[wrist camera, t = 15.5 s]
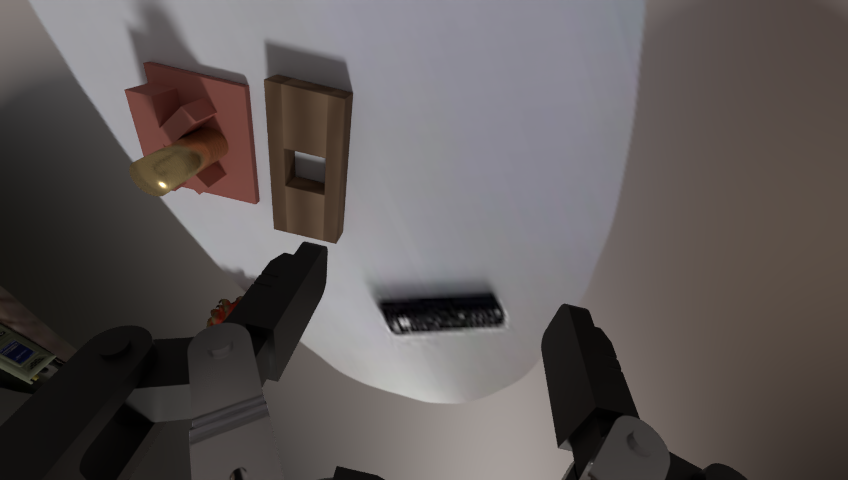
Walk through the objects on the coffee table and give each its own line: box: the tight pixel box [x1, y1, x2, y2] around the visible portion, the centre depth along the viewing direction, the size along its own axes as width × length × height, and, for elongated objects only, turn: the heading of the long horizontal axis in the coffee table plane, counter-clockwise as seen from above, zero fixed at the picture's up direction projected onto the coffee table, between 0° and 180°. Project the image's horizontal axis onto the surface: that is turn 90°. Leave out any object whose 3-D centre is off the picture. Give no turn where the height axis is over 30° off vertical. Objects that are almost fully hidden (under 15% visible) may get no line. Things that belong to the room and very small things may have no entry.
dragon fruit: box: [206, 296, 243, 328], centre depth 62 cm, size 8×8×12 cm
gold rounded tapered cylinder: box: [130, 127, 229, 196], centre depth 41 cm, size 4×4×11 cm
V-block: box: [125, 62, 259, 204], centre depth 45 cm, size 12×16×5 cm
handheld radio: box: [0, 324, 63, 384], centre depth 80 cm, size 7×3×25 cm
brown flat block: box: [264, 75, 353, 244], centre depth 46 cm, size 9×20×3 cm, turn 169°
